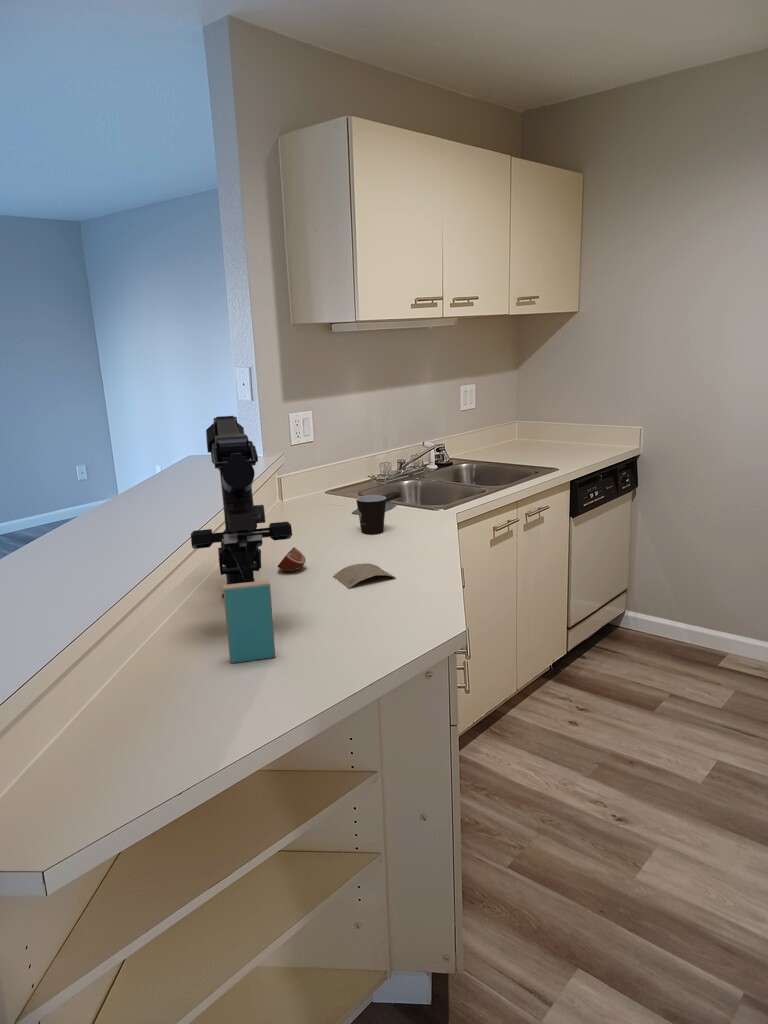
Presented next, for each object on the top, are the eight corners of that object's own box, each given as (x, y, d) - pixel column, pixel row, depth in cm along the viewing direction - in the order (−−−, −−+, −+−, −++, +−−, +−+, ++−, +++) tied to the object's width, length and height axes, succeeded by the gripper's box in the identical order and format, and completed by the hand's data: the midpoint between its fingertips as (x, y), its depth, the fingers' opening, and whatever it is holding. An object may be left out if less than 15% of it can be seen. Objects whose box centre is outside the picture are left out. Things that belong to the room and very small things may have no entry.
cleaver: (387, 496, 258) (387, 490, 257) (412, 498, 254) (412, 492, 253) (349, 516, 232) (348, 510, 232) (376, 519, 228) (376, 512, 228)
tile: (229, 658, 130) (222, 585, 127) (274, 652, 132) (268, 579, 129) (230, 664, 128) (223, 589, 125) (275, 658, 130) (270, 584, 126)
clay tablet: (380, 569, 179) (380, 558, 178) (401, 580, 170) (401, 569, 170) (327, 580, 172) (327, 569, 171) (347, 592, 164) (346, 580, 163)
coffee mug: (384, 536, 206) (383, 501, 204) (355, 535, 207) (353, 501, 205) (390, 525, 217) (389, 493, 215) (362, 525, 219) (361, 492, 216)
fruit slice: (283, 564, 183) (282, 545, 182) (309, 565, 182) (308, 546, 181) (274, 575, 175) (272, 555, 174) (301, 575, 174) (300, 555, 173)
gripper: (186, 496, 130) (194, 582, 128) (289, 486, 134) (299, 570, 132) (188, 507, 141) (196, 587, 138) (285, 498, 145) (293, 575, 143)
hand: (246, 580), depth 137 cm, fingers closed
